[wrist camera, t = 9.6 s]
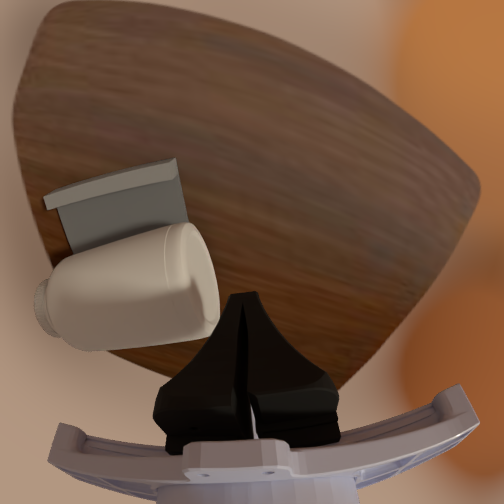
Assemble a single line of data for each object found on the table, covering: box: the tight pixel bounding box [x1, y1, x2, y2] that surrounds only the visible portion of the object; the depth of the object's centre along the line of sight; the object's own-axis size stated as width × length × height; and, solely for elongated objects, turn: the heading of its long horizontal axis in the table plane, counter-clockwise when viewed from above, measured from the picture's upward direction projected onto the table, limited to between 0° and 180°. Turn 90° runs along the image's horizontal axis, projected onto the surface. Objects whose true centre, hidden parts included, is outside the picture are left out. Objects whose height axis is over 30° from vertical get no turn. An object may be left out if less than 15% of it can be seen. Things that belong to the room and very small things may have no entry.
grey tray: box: [44, 158, 189, 255], centre depth 21 cm, size 13×12×2 cm
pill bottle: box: [34, 222, 220, 351], centre depth 19 cm, size 8×8×15 cm
